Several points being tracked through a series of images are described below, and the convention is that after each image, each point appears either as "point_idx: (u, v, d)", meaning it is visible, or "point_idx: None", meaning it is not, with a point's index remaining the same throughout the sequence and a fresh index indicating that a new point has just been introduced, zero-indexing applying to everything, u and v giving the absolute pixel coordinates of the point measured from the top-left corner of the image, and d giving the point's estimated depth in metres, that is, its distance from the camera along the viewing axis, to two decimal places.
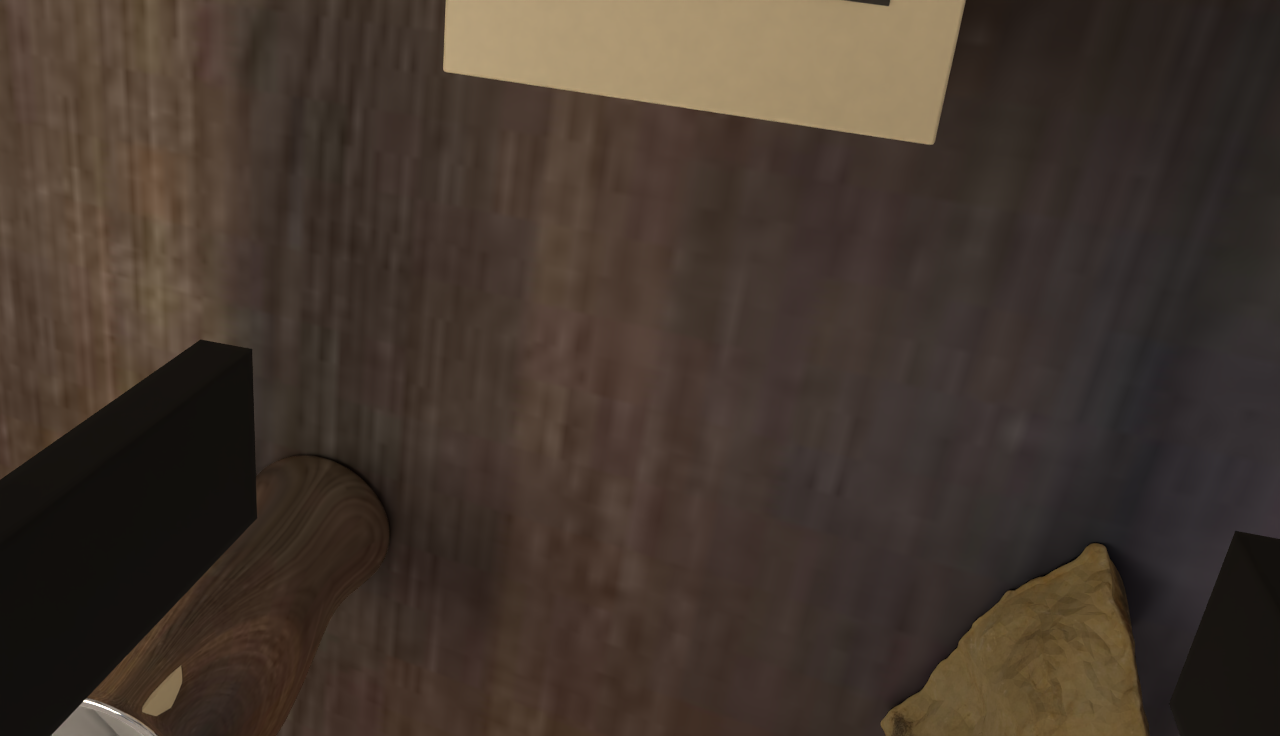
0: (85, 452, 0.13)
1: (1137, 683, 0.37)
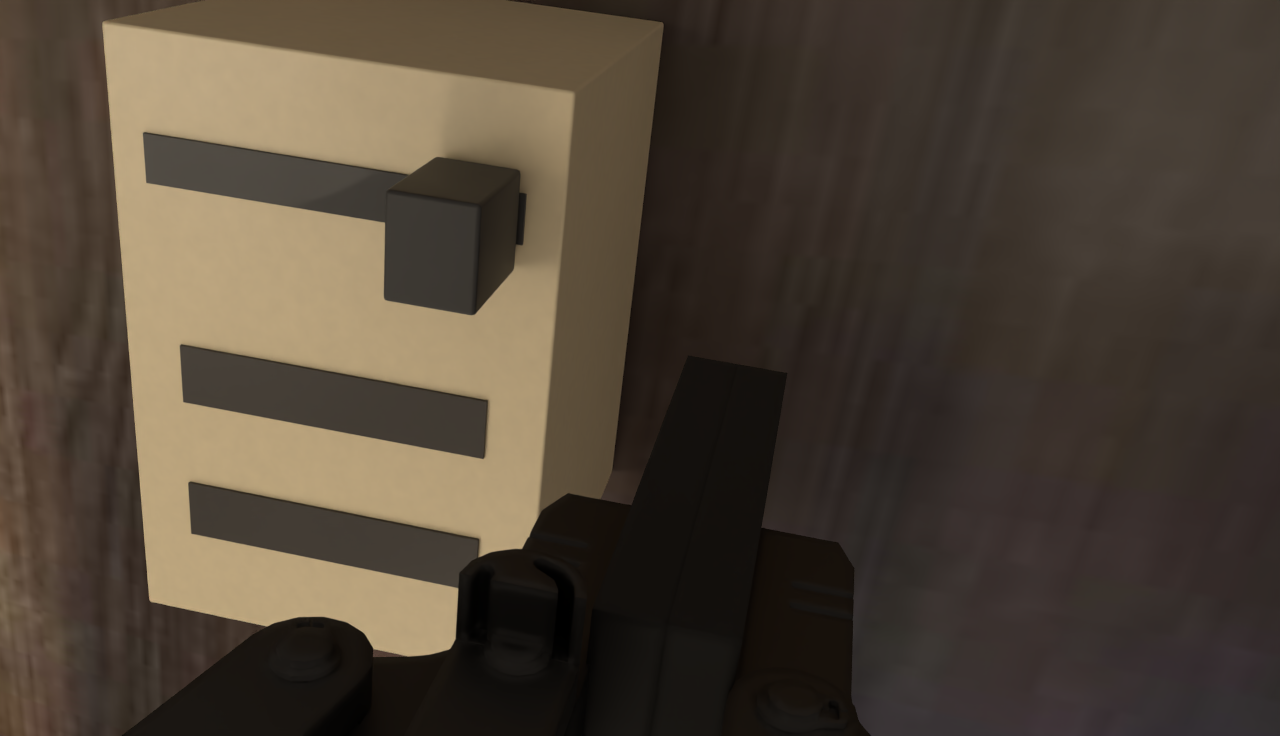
0: (685, 461, 0.14)
1: None
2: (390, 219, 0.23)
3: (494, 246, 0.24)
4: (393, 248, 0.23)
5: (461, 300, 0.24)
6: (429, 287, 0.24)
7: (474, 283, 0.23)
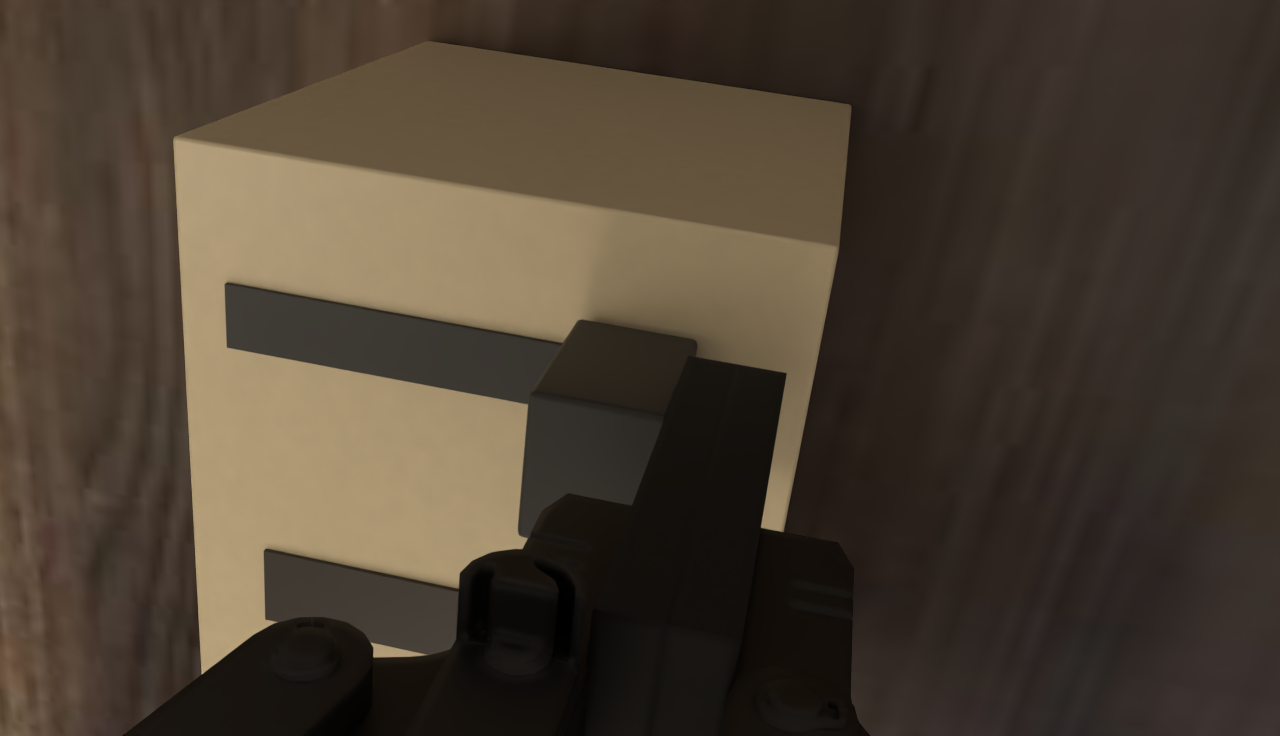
0: (685, 461, 0.14)
1: None
2: (534, 431, 0.16)
3: None
4: (536, 470, 0.16)
5: None
6: None
7: None
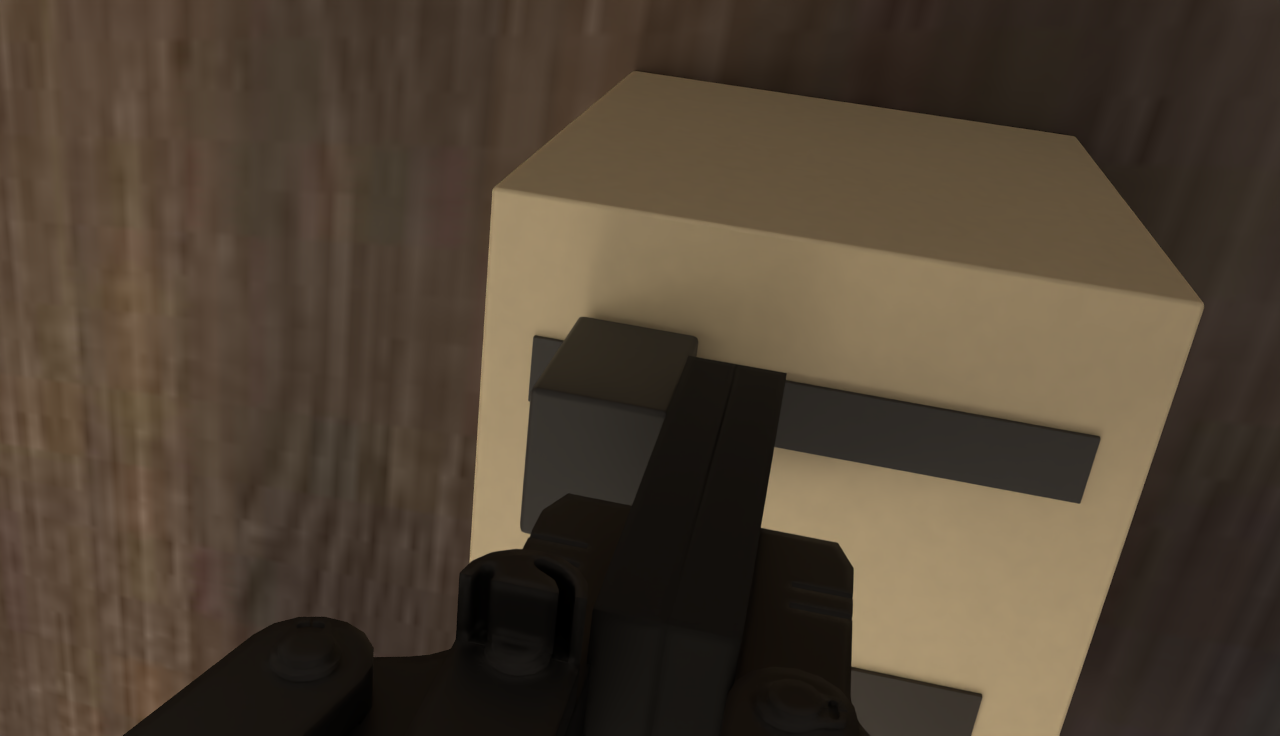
0: (686, 460, 0.14)
1: None
2: (536, 427, 0.16)
3: None
4: (538, 466, 0.16)
5: None
6: None
7: None
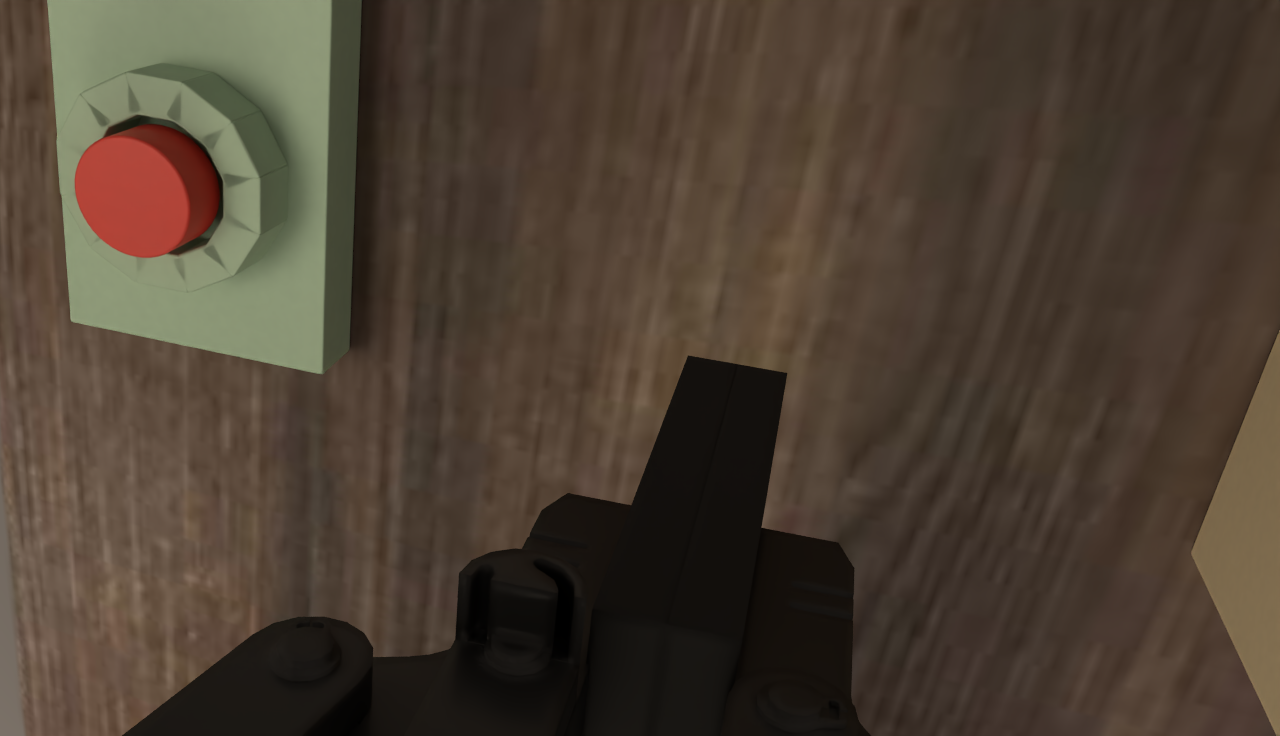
0: (685, 461, 0.14)
1: None
2: None
3: None
4: None
5: None
6: None
7: None
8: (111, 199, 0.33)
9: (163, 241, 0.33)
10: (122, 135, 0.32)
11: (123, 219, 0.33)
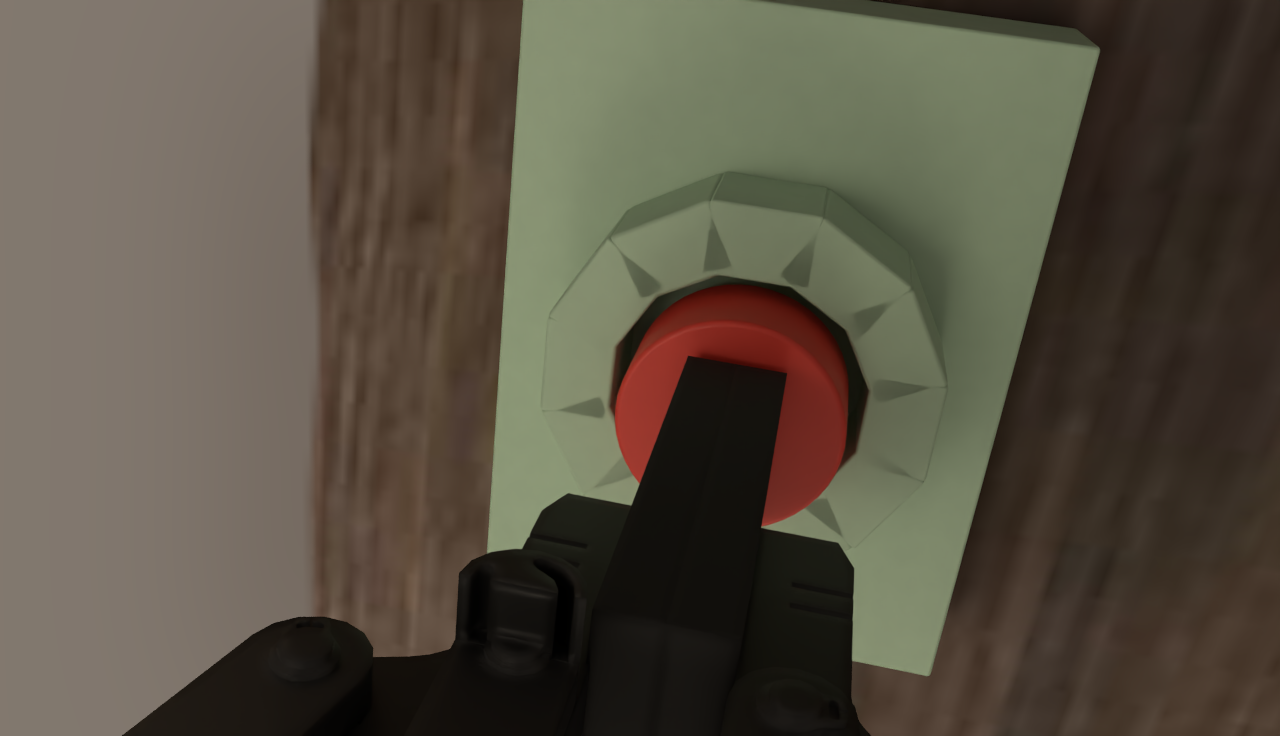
0: (685, 461, 0.14)
1: None
2: None
3: None
4: None
5: None
6: None
7: None
8: None
9: (777, 503, 0.18)
10: (730, 319, 0.17)
11: None
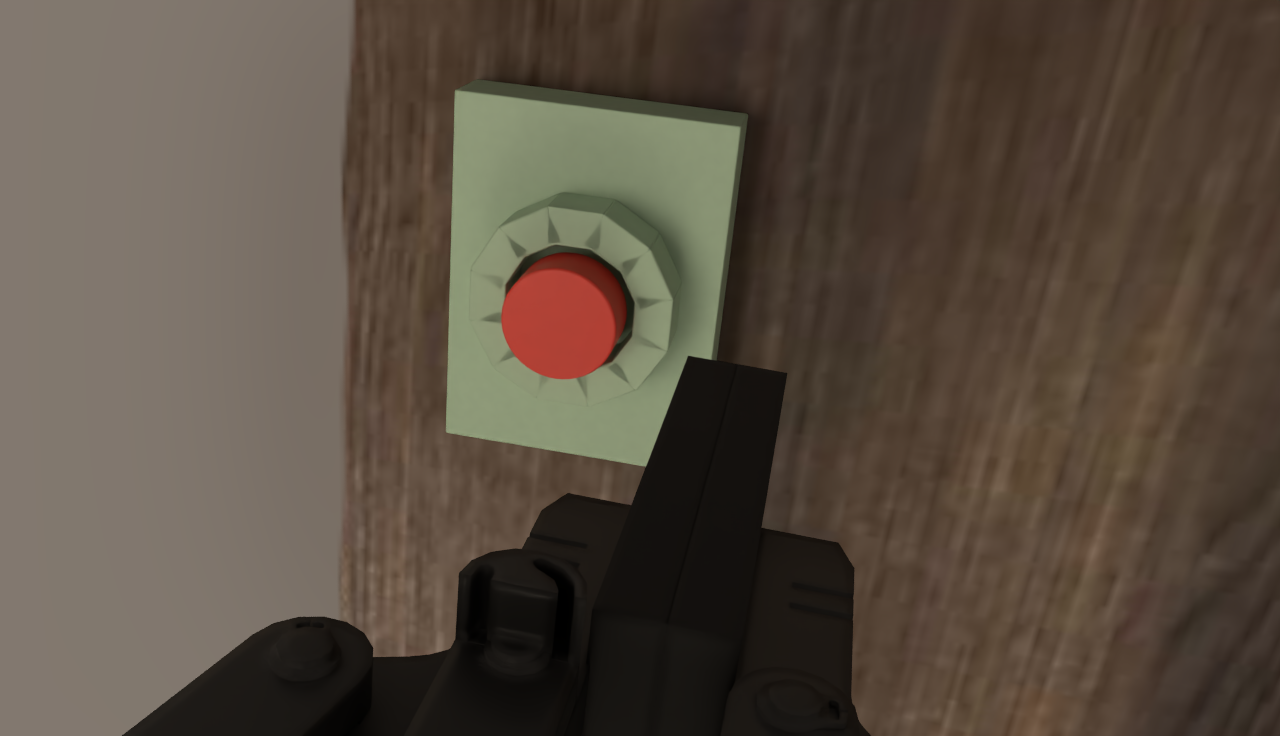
0: (685, 460, 0.14)
1: None
2: None
3: None
4: None
5: None
6: None
7: None
8: (537, 327, 0.35)
9: (586, 364, 0.35)
10: (554, 268, 0.34)
11: (547, 345, 0.35)
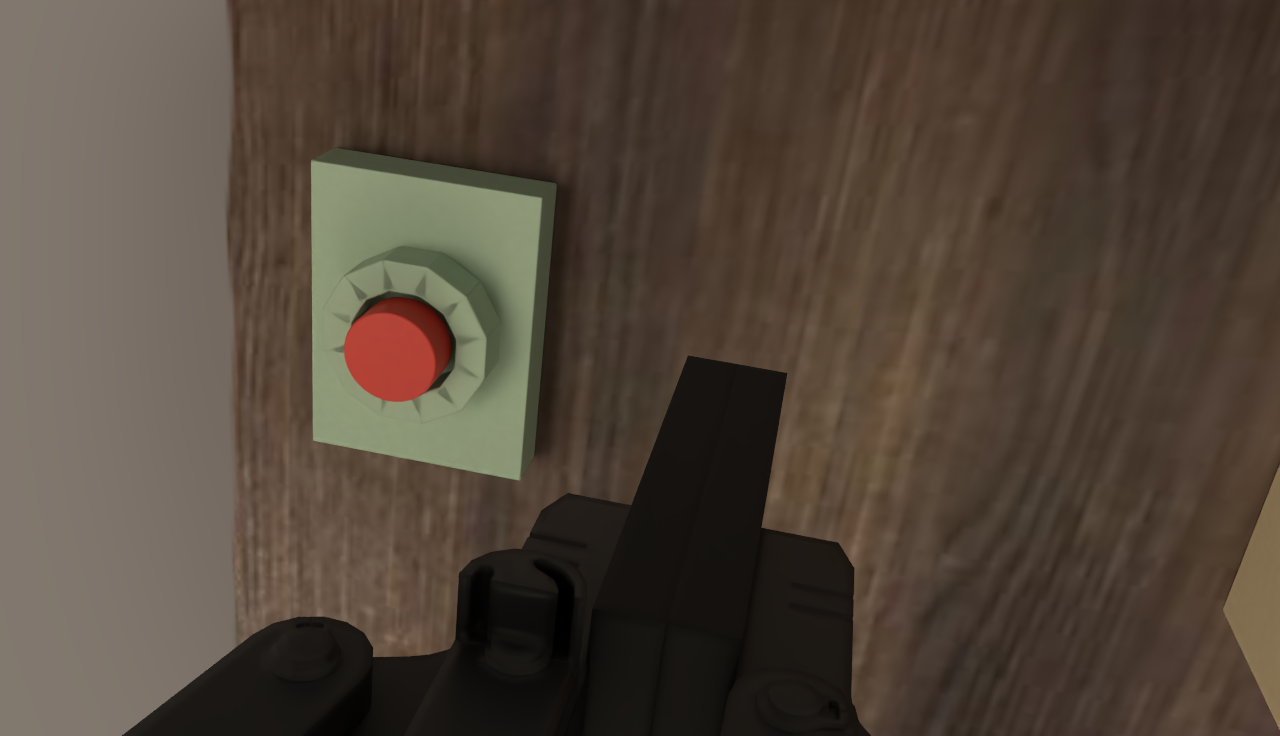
0: (685, 461, 0.14)
1: None
2: None
3: None
4: None
5: None
6: None
7: None
8: (373, 359, 0.42)
9: (413, 390, 0.43)
10: (385, 311, 0.42)
11: (382, 373, 0.43)
